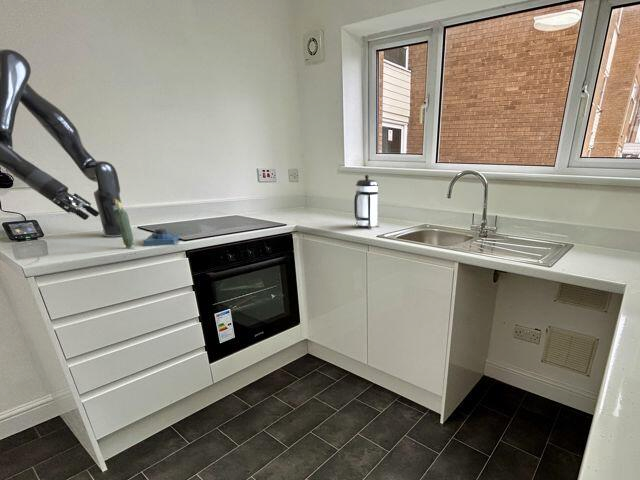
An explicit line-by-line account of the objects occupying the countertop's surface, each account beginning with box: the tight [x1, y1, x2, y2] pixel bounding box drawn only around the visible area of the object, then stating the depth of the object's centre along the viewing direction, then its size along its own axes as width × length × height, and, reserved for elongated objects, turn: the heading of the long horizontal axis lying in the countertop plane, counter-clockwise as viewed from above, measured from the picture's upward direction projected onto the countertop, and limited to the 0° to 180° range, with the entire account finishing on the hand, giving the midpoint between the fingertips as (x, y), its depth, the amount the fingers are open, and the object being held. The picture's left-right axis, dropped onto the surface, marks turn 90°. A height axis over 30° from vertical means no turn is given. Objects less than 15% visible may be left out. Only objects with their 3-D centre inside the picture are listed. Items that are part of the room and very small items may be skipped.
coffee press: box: [353, 174, 380, 230], centre depth 205 cm, size 17×16×30 cm
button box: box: [143, 231, 180, 247], centre depth 157 cm, size 14×11×4 cm
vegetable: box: [113, 199, 134, 249], centre depth 141 cm, size 4×4×20 cm
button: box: [154, 228, 167, 234], centre depth 156 cm, size 4×4×2 cm
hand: (92, 216), depth 137 cm, fingers open, 8 cm apart
